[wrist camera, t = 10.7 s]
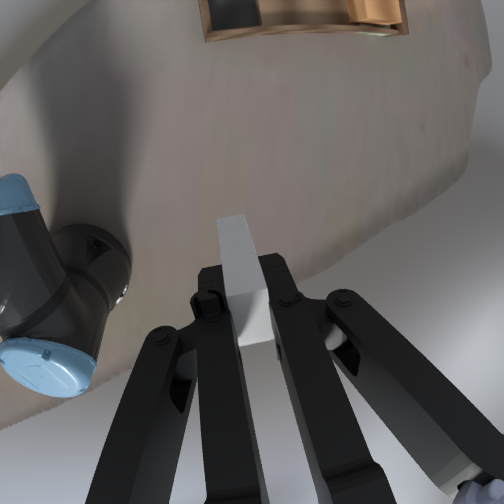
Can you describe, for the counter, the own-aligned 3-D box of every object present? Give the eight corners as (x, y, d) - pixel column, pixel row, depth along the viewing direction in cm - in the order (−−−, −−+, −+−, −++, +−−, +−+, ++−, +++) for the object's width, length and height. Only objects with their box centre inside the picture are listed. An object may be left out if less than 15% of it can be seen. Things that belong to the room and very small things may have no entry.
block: (349, 23, 31) (367, 18, 26) (344, -10, 28) (361, -18, 24) (381, 26, 31) (401, 22, 27) (376, -6, 28) (396, -12, 24)
